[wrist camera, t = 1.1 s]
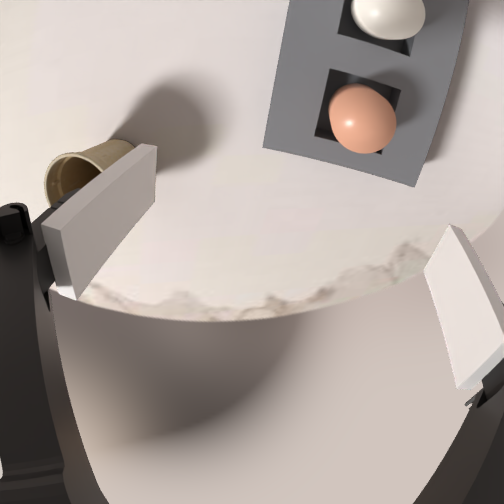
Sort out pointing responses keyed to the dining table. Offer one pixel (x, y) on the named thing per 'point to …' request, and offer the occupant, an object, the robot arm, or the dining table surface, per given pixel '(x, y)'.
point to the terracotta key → (361, 118)
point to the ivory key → (388, 17)
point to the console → (363, 72)
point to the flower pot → (81, 167)
